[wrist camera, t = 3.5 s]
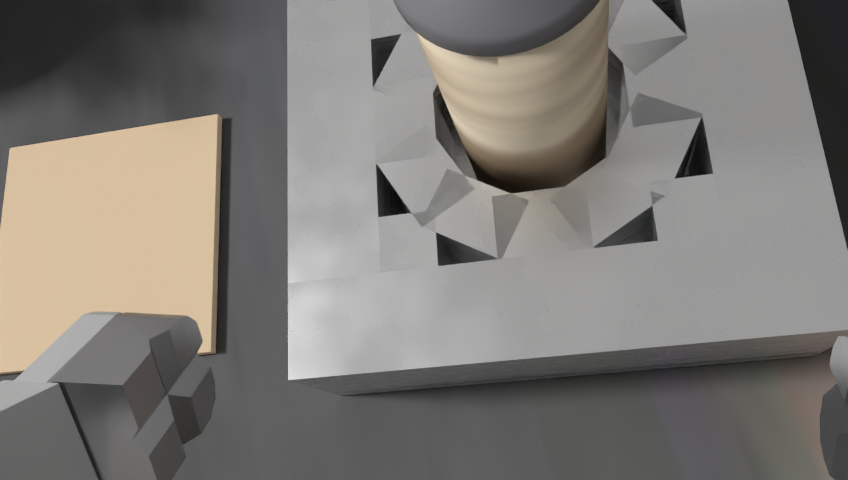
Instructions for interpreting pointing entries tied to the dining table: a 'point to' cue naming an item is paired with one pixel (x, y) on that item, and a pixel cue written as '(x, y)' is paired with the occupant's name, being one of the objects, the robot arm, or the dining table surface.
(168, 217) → the cork mat
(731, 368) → the dining table surface
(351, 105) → the bore housing
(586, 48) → the beige and grey cylinder
